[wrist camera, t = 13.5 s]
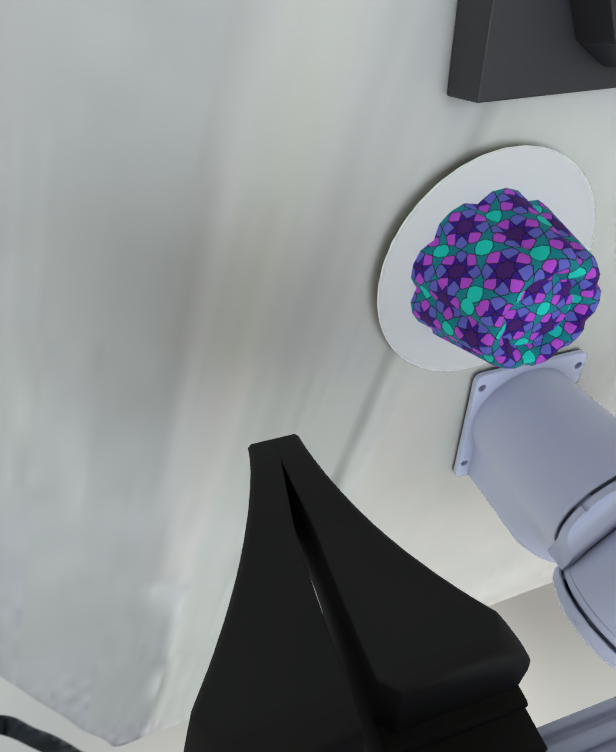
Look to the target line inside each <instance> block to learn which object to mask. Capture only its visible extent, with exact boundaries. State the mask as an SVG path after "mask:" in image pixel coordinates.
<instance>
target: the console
mask: <svg viewBox="0 0 616 752" xmlns="http://www.w3.org/2000/svg"><path fill="white" fill-rule="evenodd" d="M608 88H616V0H458V8H457V17H456V25H455V34H454V42H453V51H452V59H451V68H450V76H449V85H448V93H447V94H448V96H451V97H455V98H459V99H463V100H467V101H471V102H476V103H482V102H491V101H500V100H509V99H518V98H527V97H536V96H545V95H554V94H563V93H572V92H581V91H590V90H599V89H608Z"/></svg>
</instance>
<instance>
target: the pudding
mask: <svg viewBox="0 0 616 752" xmlns="http://www.w3.org/2000/svg"><path fill="white" fill-rule="evenodd" d="M594 230H595V205H594V198H593V193H592V190H591V188H590V185H589V183H588V180H587V178H586V176H585V175H584V173H583V172H582V171H581V169H580V168H579V167H578V165H577V164H576V163H575V162H573V161H572V160H571V159H569V158H568V157H567V156H565V155H564V154H563V153H560V152H557V151H555V150H552V149H549V148H547V147H540V146H530V145H522V146H514V147H506V148H502V149H499V150H496V151H493V152H490V153H487V154H484V155H481V156H479V157H477V158H475V159H474V160H472V161H470V162H468V163H466V164H464V165H462V166H460V167H459V168H457V169H456V170H455V171H453V172H452V173H451V174H449V175H448V176H447V177H445V178H444V179H442V180H441V181H440V182H438V183H437V184H436V185H435V186H434V187H433V188H432V189H431V190H430V191H429V192H428V193H427V194H426V195H425V196H424V197H423V198H422V199H421V200H420V201H419V202H418V204H417V205H416V206H415V208H414V209H413V210H412V212H411V213H410V214H409V215H408V217H407V218H406V219H405V221H404V222H403V224H402V225H401V227H400V229H399V231H398V232H397V234H396V236H395V238H394V239H393V241H392V243H391V245H390V248H389V250H388V253H387V255H386V258H385V260H384V263H383V266H382V270H381V275H380V279H379V283H378V295H377V309H378V316H379V323H380V325H381V328H382V331H383V334H384V336H385V338H386V340H387V341H388V343H389V344H390V346H391V347H392V349H393V350H394V351H395V352H396V353H397V354H398V355H399V356H400V357H401V358H403V359H404V360H406V361H407V362H409V363H411V364H413V365H414V366H417V367H420V368H423V369H427V370H431V371H441V372H448V371H461V370H465V369H470V368H474V367H477V366H480V365H483V364H486V363H490V364H492V365H494V366H496V367H498V368H504V369H515V368H518V367H520V366H522V365H524V364H525V365H529V366H533V365H537V364H541V363H543V362H545V361H547V360H548V359H550V358H552V357H553V356H554V354H555V353H556V352H557V351H558V350H559V349H560V348H562V347H565V346H568V345H570V344H571V343H572V342H573V341H574V340H576V339H577V338H578V336H579V335H580V334H581V332H582V331H583V330H584V325H585V321H586V320H587V319H588V318H589V317H590V316H591V315H592V314H593V313H594V312H595V310H596V308H597V306H598V304H599V301H600V294H601V290H600V287H599V286H598V284H597V282H598V280H599V276H600V272H599V269H598V265H597V262H596V259H595V258H594V256H593V255H592V254H591V253H590V249H591V245H592V240H593V235H594Z"/></svg>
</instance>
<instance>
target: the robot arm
mask: <svg viewBox="0 0 616 752" xmlns="http://www.w3.org/2000/svg"><path fill="white" fill-rule="evenodd" d="M586 358H587V353H586V352H584V351H583V350H576V351H572V352H568V353H563V354H559V355H555V356H553V357H552V358H550V359H548V360H547V361H545V362H543V363H541V364H537V365H533V366H529V365H525V364H524V365H522V366H520V367H518V368H515V369H504V368H498V369H494V370H490V371H485V372H481V373H479V374H477V375H476V376H475V378H474V380H473V384H472V389H471V393H470V398H469V402H468V407H467V411H466V416H465V420H464V425H463V429H462V434H461V439H460V443H459V448H458V452H457V457H456V461H455V466H454V473H455V475H456V476H464V475H469V476H470V477H471V479H472V480H473V482H474V483H475V484H476V486H477V487H478V489H479V490H480V491H481V493H482V494H483V496H484V497H485V498H486V500H487V501H488V503H489V504H490V505H491V507H492V508H493V509H494V511H495V512H496V514H497V515H498V516H499V518H500V519H501V521H502V522H503V523H504V525H505V526H506V528H507V529H508V530H509V532H510V533H511V535H512V536H513V537H514V538H515V539H516V541H517V542H518V543H520V544H521V545H522V546H523V547H524V548H526V549H527V550H528V551H530V552H531V553H533V554H535V555H537V556H538V557H540V558H543V559H545V560H548V561H551V562H556V563H557V565H558V567H556V568H555V570H554V572H553V582H554V587H555V590H556V595H557V599H558V602H559V604H560V606H561V609H562V610H563V612H564V614H565V616H566V618H567V619H568V621H569V622H570V624H571V625H572V627H573V628H574V629H575V631H576V632H577V633H578V635H579V636H580V637H581V638H582V639H583V641H584V642H585V643H586V644H587V645H588V646H589V647H590V648H591V649H592V650H593V651H594V652H595V653H596V654H597V655H598V656H599V657H600V658H601V659H602V660H604V662H606V663H607V664H608V665H609V666H611V667H612V668H614V669H615V670H616V417H614V416H613V415H612V414H611V413H610V412H608V411H607V410H606V409H605V408H604V407H602V406H601V405H600V404H599V403H598V402H597V401H595V400H594V399H593V398H592V397H591V396H589V395H588V394H587V393H586V392H585V391H583V390H582V389H581V388H580V387H579V386H577V385H576V383H577V381H578V378H579V376H580V373H581V371H582V368H583V366H584V363H585V361H586ZM248 451H249V456H250V469H251V478H250V497H249V509H248V517H247V524H246V531H245V537H244V543H243V549H242V554H241V559H240V563H239V568H238V572H237V577H236V581H235V585H234V588H233V592H232V596H231V600H230V603H229V607H228V610H227V614H226V617H225V620H224V624H223V627H222V630H221V633H220V636H219V639H218V642H217V645H216V648H215V651H214V654H213V657H212V659H211V662H210V665H209V668H208V670H207V673H206V675H205V678H204V681H203V683H202V686H201V688H200V691H199V693H198V696H197V698H196V701H195V703H194V706H193V709H192V711H191V716H190V721H189V726H188V731H187V736H186V742H185V747H184V752H616V697H613V698H611V699H609V700H606V701H603V702H601V703H598V704H596V705H593V706H591V707H589V708H586V709H583V710H581V711H578V712H576V713H573V714H571V715H569V716H566V717H563V718H561V719H558V720H556V721H553V722H551V723H548V724H546V725H543V726H541V727H538V728H536V726H535V725H534V723H533V722H532V719H531V717H530V716H529V714H528V712H527V710H526V708H525V707H527V706H528V703H527V700H526V698H525V696H524V695H523V693H522V691H521V689H520V688H519V686H518V684H519V683H520V681H521V680H522V678H523V676H524V675H525V673H526V672H527V670H528V667H529V664H530V658H529V656H528V654H527V652H526V650H525V649H524V647H523V645H522V644H521V642H520V641H519V640H518V638H517V637H516V635H515V634H514V633H513V631H512V630H511V629H510V627H509V626H508V625H507V624H506V622H505V621H504V620H503V619H502V617H501V616H500V615H499V614H498V613H497V612H496V611H494V610H493V609H491V608H489V607H488V606H486V605H484V604H483V603H481V602H479V601H477V600H476V599H474V598H473V597H471V596H469V595H468V594H466V593H464V592H463V591H461V590H460V589H458V588H457V587H455V586H454V585H452V584H451V583H449V582H448V581H446V580H445V579H443V578H442V577H440V576H439V575H437V574H436V573H434V572H433V571H432V570H430V569H429V568H428V567H426V566H425V565H423V564H422V563H421V562H419V561H418V560H417V559H415V558H414V557H413V556H411V555H410V554H409V553H407V552H406V551H405V550H403V549H402V548H401V547H400V546H398V545H397V544H396V543H395V542H394V541H392V540H391V539H390V538H389V537H388V536H386V535H385V534H384V533H383V532H382V531H381V530H380V529H378V528H377V527H376V526H375V525H374V524H373V523H372V522H371V521H370V520H369V519H368V518H367V517H365V516H364V515H363V514H362V513H361V512H360V511H359V510H358V509H357V508H356V507H355V506H354V505H353V504H352V503H351V502H350V501H349V500H348V498H347V497H346V496H345V495H344V494H343V493H342V492H341V491H340V490H339V489H338V487H337V486H336V485H335V484H334V483H333V482H332V481H331V480H330V478H329V477H328V476H327V475H326V474H325V472H324V471H323V470H322V469H321V468H320V466H319V465H318V464H317V462H316V461H315V460H314V458H313V457H312V456H311V454H310V453H309V452H308V450H307V449H306V447H305V446H304V444H303V443H302V441H301V439H300V438H299V436H297V435H296V434H292V435H288V436H284V437H280V438H276V439H271V440H267V441H263V442H259V443H255V444H251V445H250V446H249V448H248ZM311 580H312V581H311ZM312 583H313V584H312ZM313 586H314V587H313ZM314 588H315V590H314ZM315 591H316V593H315ZM316 594H317V596H316ZM317 597H318V599H317ZM318 600H319V602H318ZM319 603H320V605H319ZM320 606H321V607H320ZM321 609H322V610H321ZM322 612H323V613H322Z"/></svg>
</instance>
